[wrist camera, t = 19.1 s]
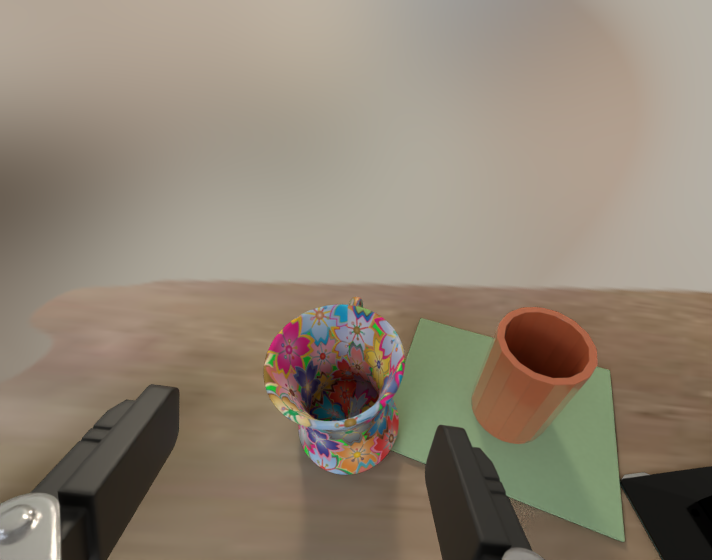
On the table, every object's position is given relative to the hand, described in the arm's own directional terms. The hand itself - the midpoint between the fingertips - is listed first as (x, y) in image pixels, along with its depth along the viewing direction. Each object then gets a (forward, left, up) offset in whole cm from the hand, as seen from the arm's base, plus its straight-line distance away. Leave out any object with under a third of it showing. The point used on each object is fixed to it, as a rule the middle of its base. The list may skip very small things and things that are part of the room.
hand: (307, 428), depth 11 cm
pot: (+9, +14, -20) cm, 26 cm away
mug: (-3, +9, -20) cm, 22 cm away
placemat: (+9, +14, -20) cm, 26 cm away
